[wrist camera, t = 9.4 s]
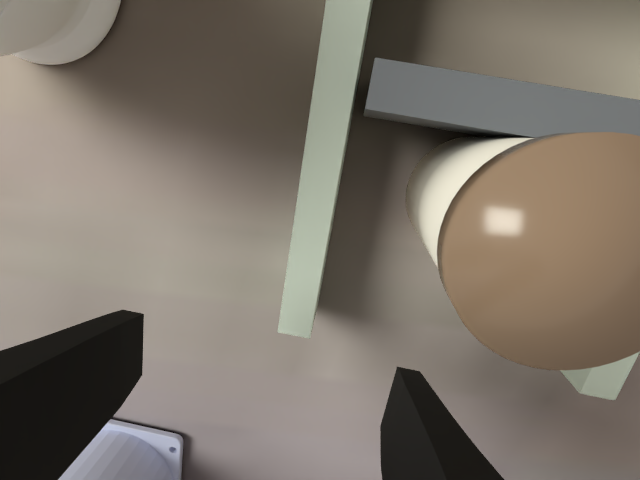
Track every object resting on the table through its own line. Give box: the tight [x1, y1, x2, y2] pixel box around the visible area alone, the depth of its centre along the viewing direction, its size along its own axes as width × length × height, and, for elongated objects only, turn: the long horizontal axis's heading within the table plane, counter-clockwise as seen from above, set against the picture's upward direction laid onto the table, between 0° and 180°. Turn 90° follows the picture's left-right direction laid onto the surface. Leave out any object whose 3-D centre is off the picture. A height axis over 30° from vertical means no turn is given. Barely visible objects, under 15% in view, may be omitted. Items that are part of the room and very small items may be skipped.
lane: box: [278, 0, 640, 401], centre depth 13 cm, size 20×15×7 cm
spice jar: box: [406, 132, 640, 370], centre depth 13 cm, size 6×6×9 cm
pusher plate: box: [363, 57, 640, 138], centre depth 13 cm, size 2×11×5 cm, turn 80°
